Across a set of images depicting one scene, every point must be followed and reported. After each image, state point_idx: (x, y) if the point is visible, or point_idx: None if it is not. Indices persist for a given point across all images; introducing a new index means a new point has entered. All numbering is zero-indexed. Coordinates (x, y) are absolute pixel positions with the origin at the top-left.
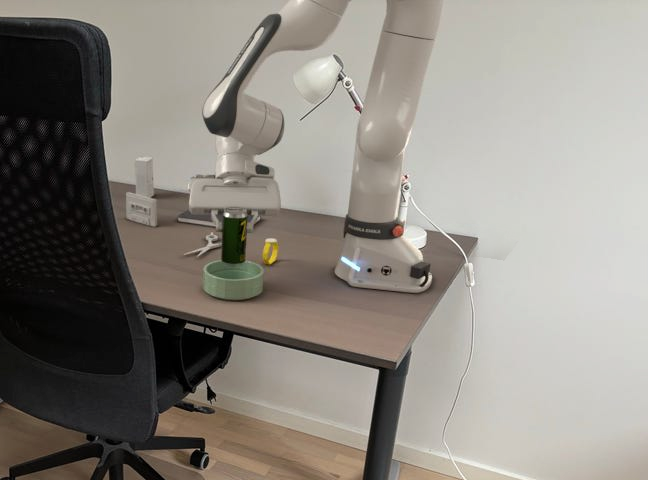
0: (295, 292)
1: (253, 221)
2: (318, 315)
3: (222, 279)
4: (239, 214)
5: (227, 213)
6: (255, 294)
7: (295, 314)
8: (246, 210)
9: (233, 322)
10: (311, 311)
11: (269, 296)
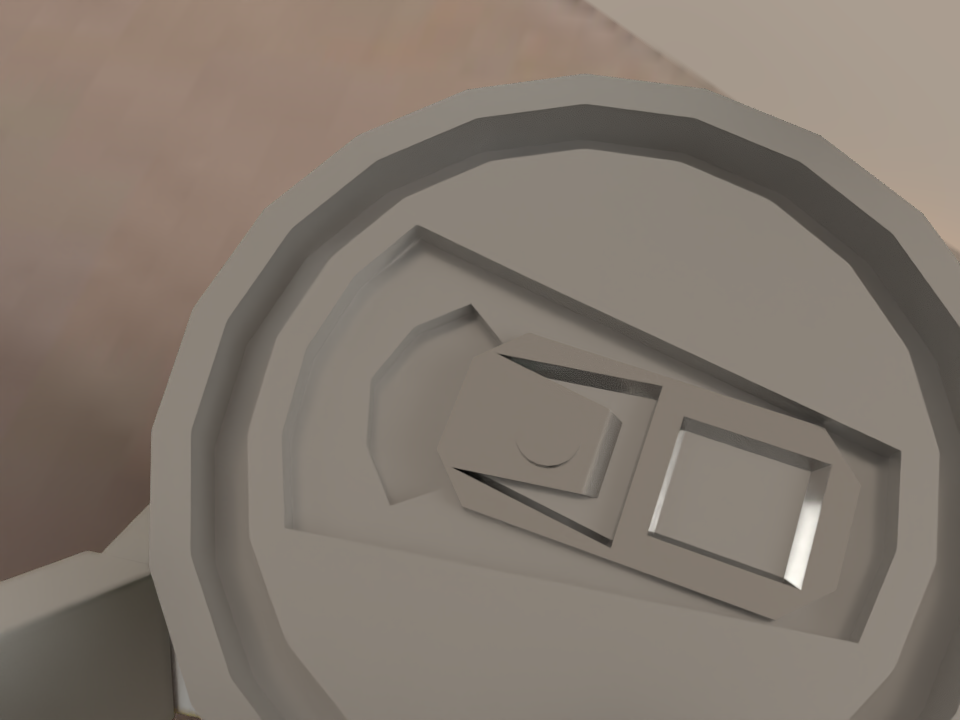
0: (43, 491)
1: (78, 560)
2: (93, 94)
3: None
4: (523, 124)
5: (901, 273)
6: None
7: (227, 125)
8: (198, 330)
9: (662, 66)
10: (105, 153)
11: None
